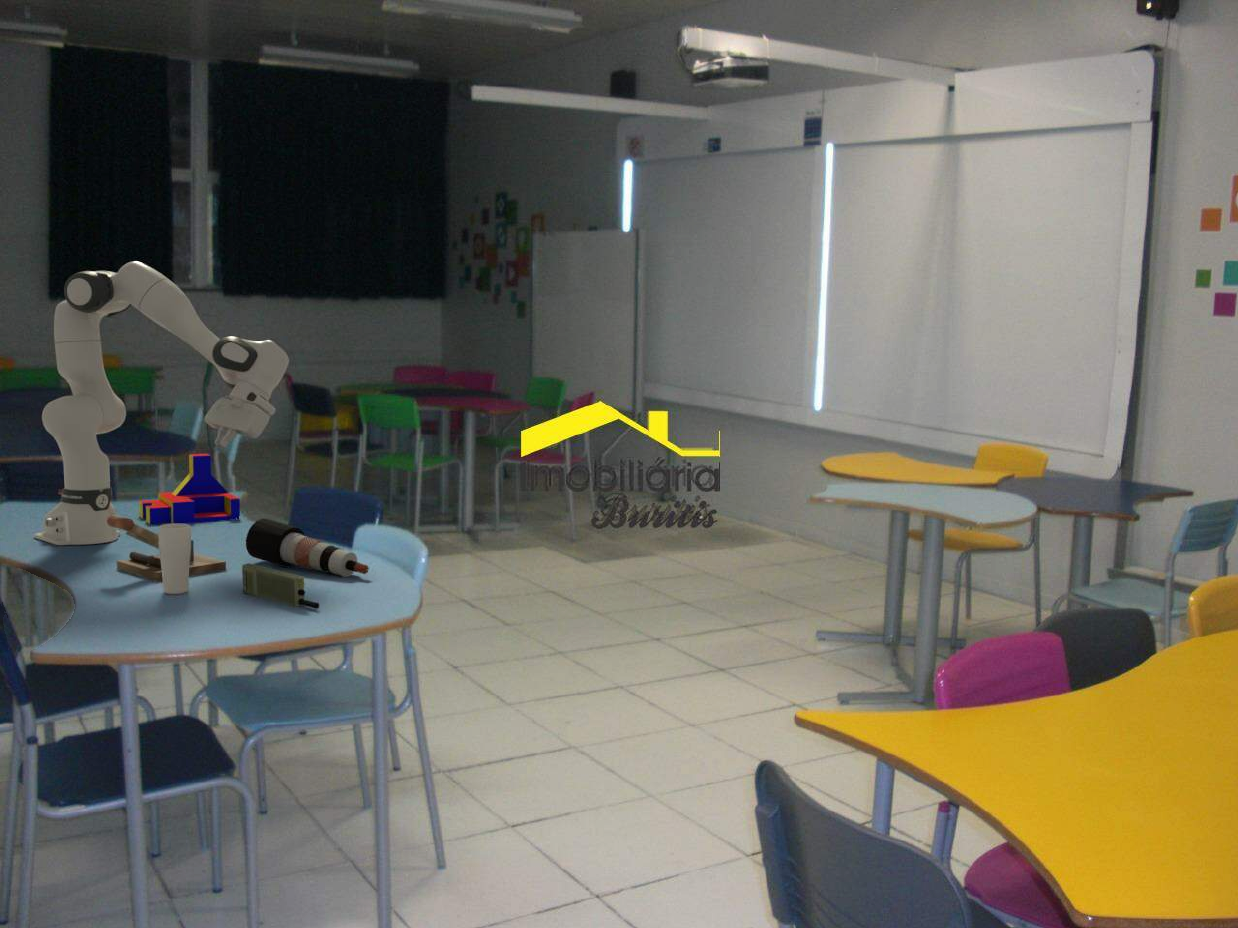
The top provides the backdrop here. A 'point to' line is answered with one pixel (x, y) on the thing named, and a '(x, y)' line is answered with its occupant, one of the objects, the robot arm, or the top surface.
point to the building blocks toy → (193, 498)
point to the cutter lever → (134, 530)
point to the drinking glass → (175, 557)
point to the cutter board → (157, 572)
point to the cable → (298, 549)
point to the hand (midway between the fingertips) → (219, 445)
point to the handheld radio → (275, 585)
